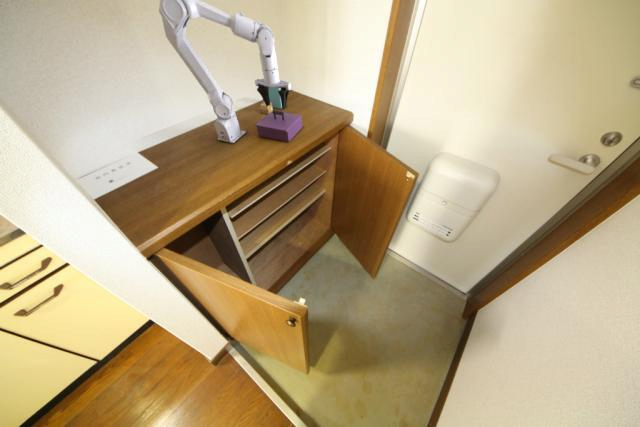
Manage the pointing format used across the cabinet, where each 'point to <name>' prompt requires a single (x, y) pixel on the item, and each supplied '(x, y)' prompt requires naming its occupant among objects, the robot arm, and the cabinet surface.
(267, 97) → the robot arm
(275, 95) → the teal flat upright piece
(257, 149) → the cabinet surface
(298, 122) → the purple flat box
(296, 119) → the lid
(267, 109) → the block
